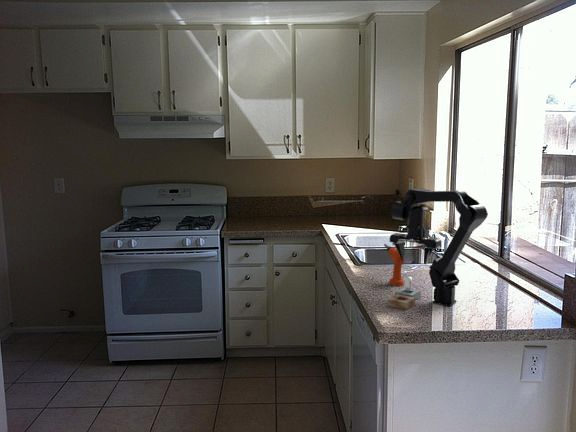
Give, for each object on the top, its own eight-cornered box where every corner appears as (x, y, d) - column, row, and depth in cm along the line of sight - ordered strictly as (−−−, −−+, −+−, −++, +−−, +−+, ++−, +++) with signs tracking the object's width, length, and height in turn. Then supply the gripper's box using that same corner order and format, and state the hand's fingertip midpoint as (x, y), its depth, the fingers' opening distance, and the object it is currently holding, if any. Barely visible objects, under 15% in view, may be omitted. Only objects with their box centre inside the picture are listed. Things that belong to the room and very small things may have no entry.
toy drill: (388, 270, 225) (390, 237, 221) (405, 288, 207) (409, 253, 203) (377, 271, 224) (379, 238, 220) (394, 288, 206) (397, 253, 202)
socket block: (415, 304, 184) (415, 297, 184) (406, 309, 179) (406, 302, 178) (397, 300, 189) (397, 294, 188) (388, 305, 183) (388, 299, 183)
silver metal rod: (412, 297, 192) (412, 276, 191) (409, 299, 190) (409, 278, 189) (406, 296, 194) (406, 275, 192) (403, 298, 192) (403, 277, 190)
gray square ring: (420, 297, 192) (420, 290, 192) (412, 302, 187) (412, 295, 187) (403, 293, 197) (403, 287, 196) (394, 298, 191) (394, 291, 191)
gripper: (447, 221, 194) (446, 261, 197) (402, 217, 206) (401, 255, 208) (436, 225, 185) (434, 267, 188) (389, 220, 197) (388, 260, 199)
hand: (414, 262), depth 196 cm, fingers open, 9 cm apart
